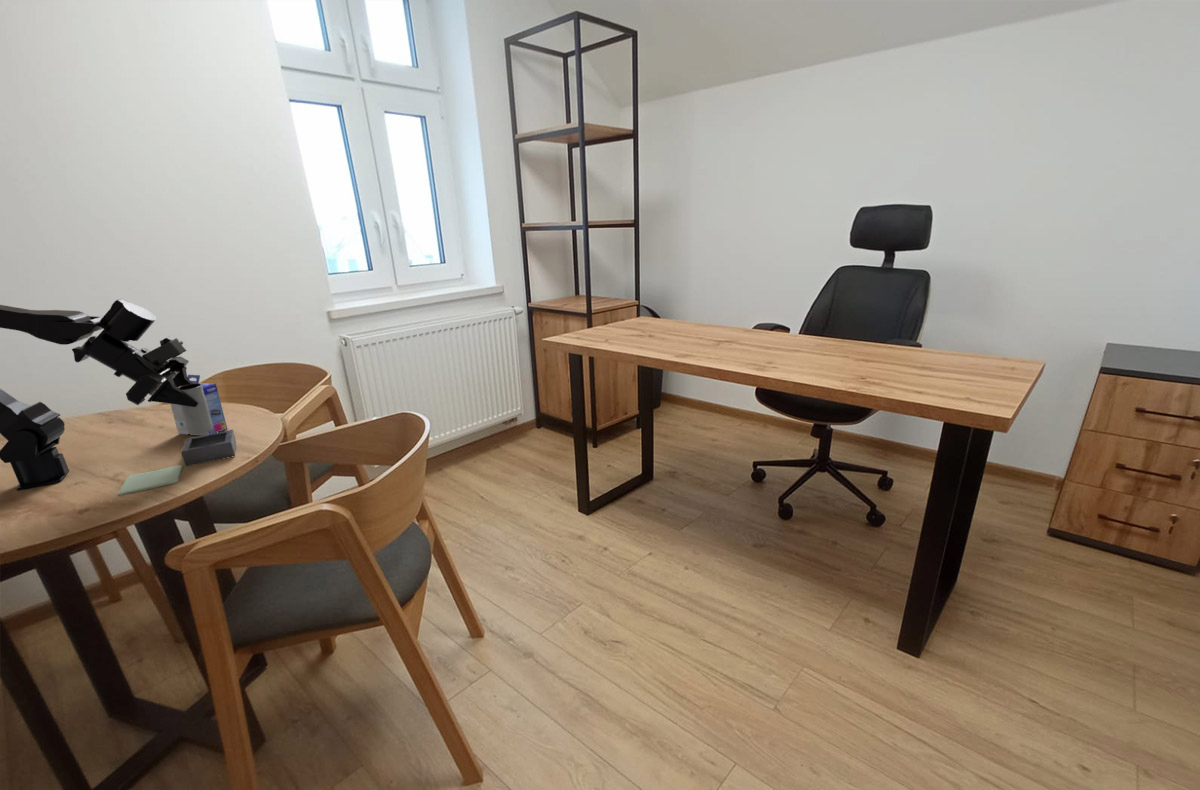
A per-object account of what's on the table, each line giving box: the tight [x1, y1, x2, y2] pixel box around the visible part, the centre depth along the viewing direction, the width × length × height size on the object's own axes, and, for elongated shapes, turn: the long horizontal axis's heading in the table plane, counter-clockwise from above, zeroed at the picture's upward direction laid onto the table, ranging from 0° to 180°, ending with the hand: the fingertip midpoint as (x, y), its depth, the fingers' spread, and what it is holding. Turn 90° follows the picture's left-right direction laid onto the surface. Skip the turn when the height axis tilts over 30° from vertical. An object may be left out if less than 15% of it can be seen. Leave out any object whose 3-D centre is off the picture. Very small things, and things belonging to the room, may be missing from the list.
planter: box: [178, 384, 213, 434], centre depth 114 cm, size 4×4×10 cm
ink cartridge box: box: [169, 374, 228, 436], centre depth 130 cm, size 10×6×14 cm, turn 78°
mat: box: [117, 464, 184, 496], centre depth 107 cm, size 9×9×1 cm
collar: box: [180, 429, 237, 467], centre depth 118 cm, size 9×9×4 cm
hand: (200, 401), depth 114 cm, fingers closed on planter, 4 cm apart
